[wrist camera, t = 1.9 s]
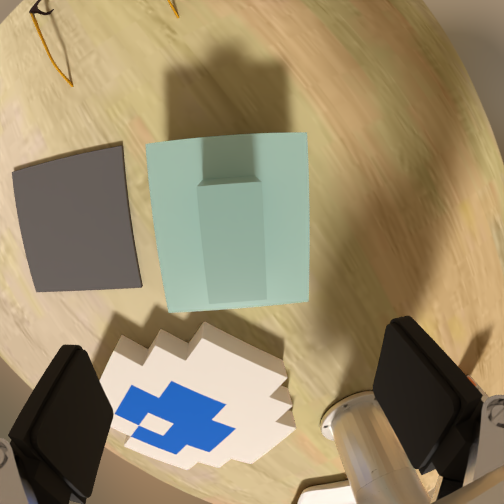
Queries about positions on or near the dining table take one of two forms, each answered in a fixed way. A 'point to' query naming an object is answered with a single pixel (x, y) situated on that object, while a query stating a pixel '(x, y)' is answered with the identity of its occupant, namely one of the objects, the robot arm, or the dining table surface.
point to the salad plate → (328, 494)
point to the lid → (231, 220)
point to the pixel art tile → (198, 398)
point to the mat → (77, 223)
